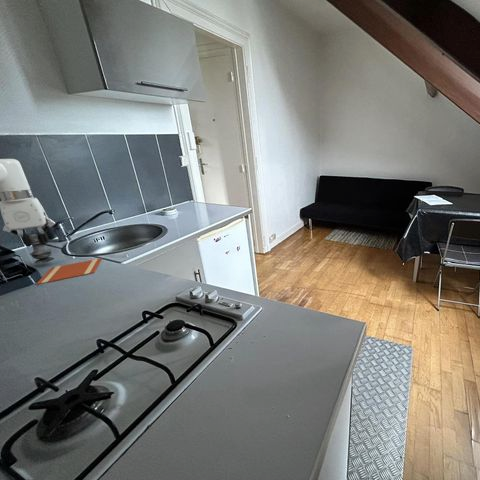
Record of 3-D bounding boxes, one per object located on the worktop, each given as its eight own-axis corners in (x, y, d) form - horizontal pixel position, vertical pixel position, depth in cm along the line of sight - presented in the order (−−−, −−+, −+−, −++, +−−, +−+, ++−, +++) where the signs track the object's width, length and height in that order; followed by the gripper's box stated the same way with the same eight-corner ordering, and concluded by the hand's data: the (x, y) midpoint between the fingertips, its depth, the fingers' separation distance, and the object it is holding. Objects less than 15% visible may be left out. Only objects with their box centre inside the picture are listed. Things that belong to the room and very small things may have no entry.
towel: (36, 284, 86) (36, 283, 85) (51, 268, 97) (51, 267, 97) (94, 273, 92) (93, 271, 92) (102, 259, 104) (101, 258, 104)
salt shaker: (44, 263, 97) (31, 232, 93) (28, 263, 97) (15, 233, 93) (59, 257, 102) (47, 228, 98) (44, 257, 102) (32, 228, 98)
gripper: (-25, 200, 84) (0, 252, 90) (45, 194, 92) (63, 243, 98) (-11, 197, 90) (11, 246, 97) (52, 191, 98) (69, 237, 104)
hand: (37, 244), depth 97 cm, fingers closed on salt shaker, 3 cm apart
